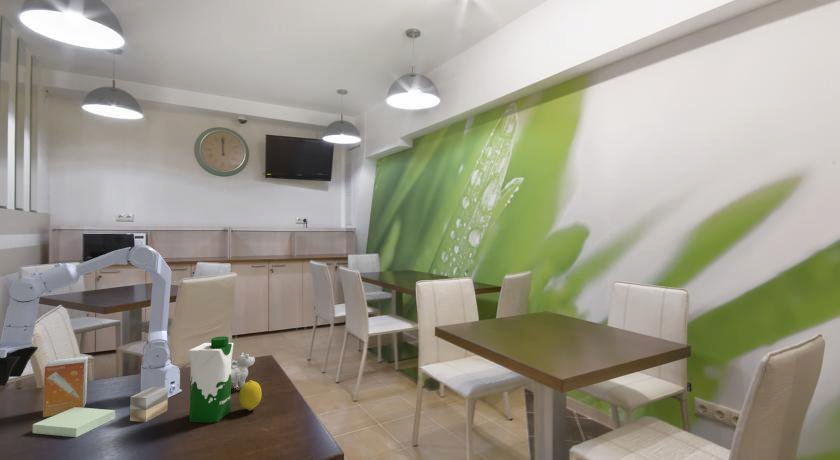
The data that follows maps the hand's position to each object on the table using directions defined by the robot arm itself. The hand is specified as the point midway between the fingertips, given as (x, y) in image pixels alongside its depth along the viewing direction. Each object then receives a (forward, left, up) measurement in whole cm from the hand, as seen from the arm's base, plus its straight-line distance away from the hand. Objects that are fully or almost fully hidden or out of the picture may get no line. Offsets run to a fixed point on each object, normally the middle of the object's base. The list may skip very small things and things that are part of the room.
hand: (7, 380), depth 101 cm
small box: (-7, -9, -11) cm, 15 cm away
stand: (-18, -2, -10) cm, 21 cm away
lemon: (-55, -17, -11) cm, 59 cm away
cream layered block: (-31, -10, -10) cm, 34 cm away
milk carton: (-47, -12, -11) cm, 50 cm away
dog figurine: (-42, -29, -11) cm, 52 cm away
